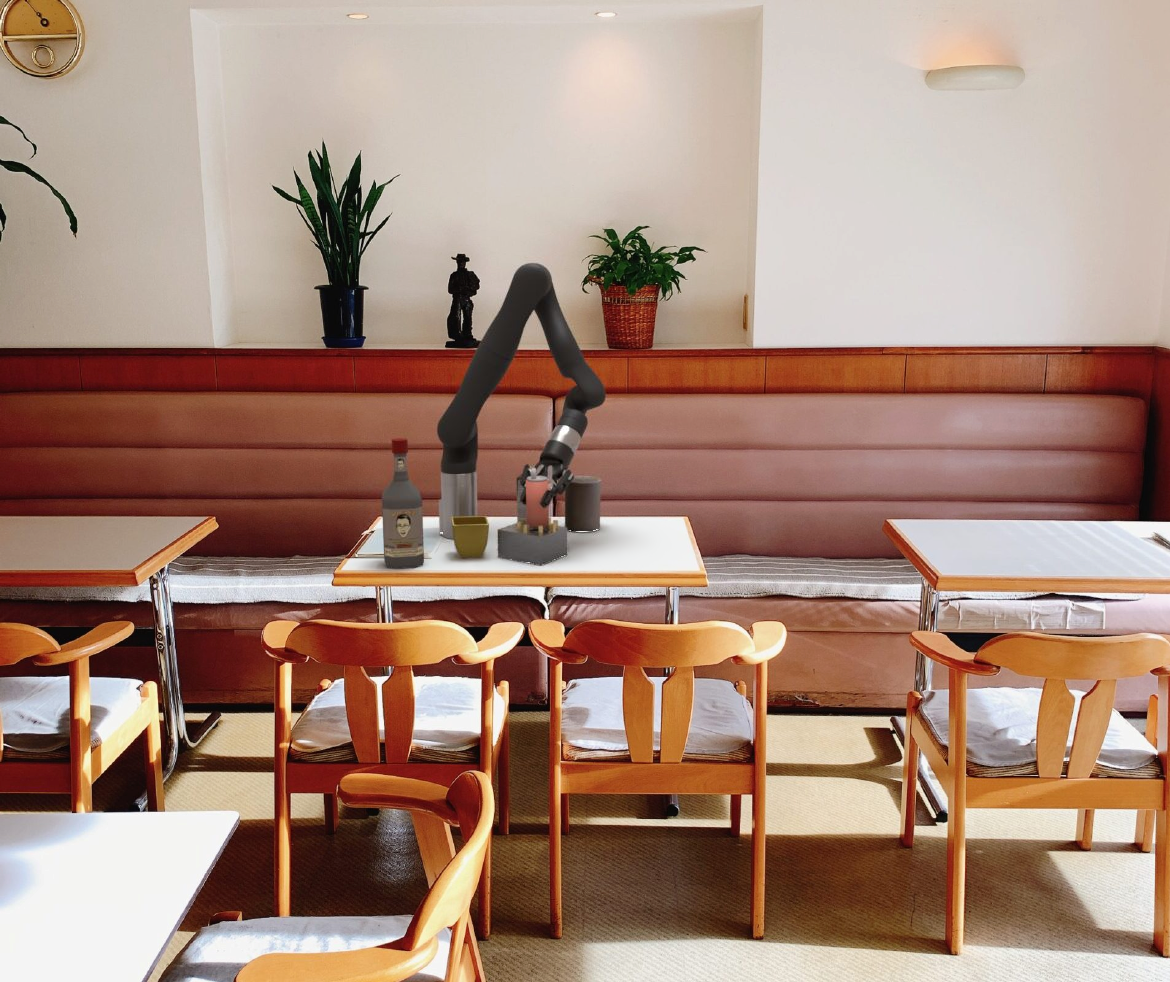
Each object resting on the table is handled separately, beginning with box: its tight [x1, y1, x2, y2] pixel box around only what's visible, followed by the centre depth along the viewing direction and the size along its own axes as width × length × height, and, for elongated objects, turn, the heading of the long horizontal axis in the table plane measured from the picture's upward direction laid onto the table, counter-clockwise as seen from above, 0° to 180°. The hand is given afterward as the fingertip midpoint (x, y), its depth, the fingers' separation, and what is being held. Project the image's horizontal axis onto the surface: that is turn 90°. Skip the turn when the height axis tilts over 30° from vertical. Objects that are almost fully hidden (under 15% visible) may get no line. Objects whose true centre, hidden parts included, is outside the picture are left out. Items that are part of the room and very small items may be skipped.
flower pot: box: [451, 515, 490, 559], centre depth 255 cm, size 9×9×9 cm
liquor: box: [381, 437, 425, 570], centre depth 246 cm, size 9×9×30 cm
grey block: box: [497, 517, 568, 566], centre depth 255 cm, size 16×11×9 cm
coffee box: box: [516, 473, 526, 523], centre depth 276 cm, size 9×6×16 cm
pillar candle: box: [564, 473, 602, 531], centre depth 281 cm, size 10×10×15 cm
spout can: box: [526, 468, 550, 527], centre depth 252 cm, size 5×5×14 cm
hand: (533, 504), depth 251 cm, fingers closed on spout can, 5 cm apart
